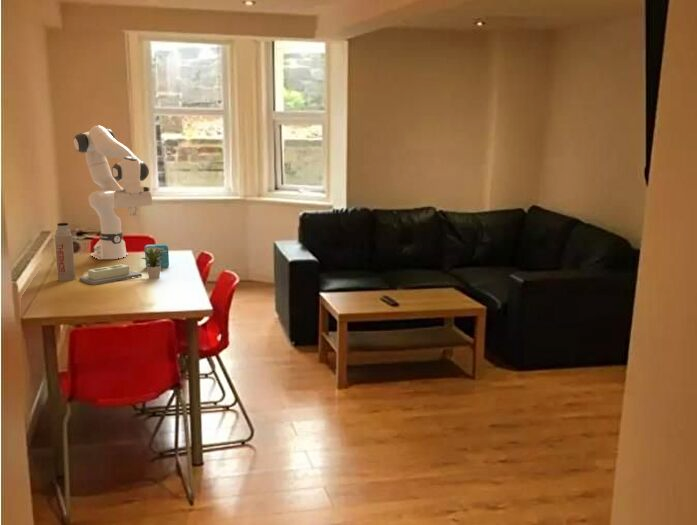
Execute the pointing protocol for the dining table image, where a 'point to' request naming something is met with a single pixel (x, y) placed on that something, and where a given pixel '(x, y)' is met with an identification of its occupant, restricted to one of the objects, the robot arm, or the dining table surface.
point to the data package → (166, 256)
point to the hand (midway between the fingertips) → (133, 215)
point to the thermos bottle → (64, 253)
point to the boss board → (110, 279)
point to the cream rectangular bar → (108, 272)
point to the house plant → (153, 263)
